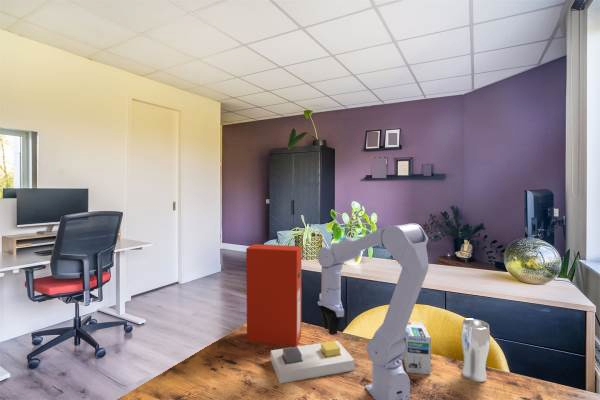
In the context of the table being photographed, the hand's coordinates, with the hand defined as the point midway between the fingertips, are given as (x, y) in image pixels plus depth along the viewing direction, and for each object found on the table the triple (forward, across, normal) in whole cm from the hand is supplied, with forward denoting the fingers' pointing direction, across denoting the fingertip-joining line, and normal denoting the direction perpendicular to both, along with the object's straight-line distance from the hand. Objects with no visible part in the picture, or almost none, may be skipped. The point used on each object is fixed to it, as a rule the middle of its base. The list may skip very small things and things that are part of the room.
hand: (330, 331), depth 96 cm
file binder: (+10, -19, -13) cm, 25 cm away
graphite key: (+7, 0, -12) cm, 14 cm away
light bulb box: (+10, +8, +24) cm, 27 cm away
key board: (+9, 0, -6) cm, 11 cm away
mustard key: (+7, 0, 0) cm, 7 cm away
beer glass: (+10, +18, +36) cm, 41 cm away
